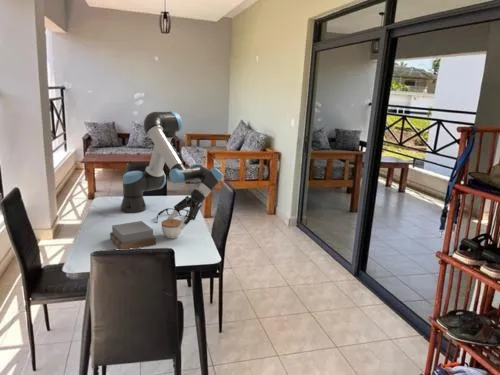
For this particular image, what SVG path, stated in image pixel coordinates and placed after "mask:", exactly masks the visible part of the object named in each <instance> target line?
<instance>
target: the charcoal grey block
mask: <svg viewBox="0 0 500 375" xmlns="http://www.w3.org/2000/svg"><path fill="white" fill-rule="evenodd" d="M111 229H112V230H111V232H112V233H113V234H114V235H115V236H116V237H117V238H118V239H119V240H120V241H121V242H122V243H127V242H132V241H137V240H143V239H148V238H153V236H154V229H153V228H152V227H150V226H149V225H148V224H146V223H145V222H144V221H142V220H138V221H133V222H124V223H121V224H120V223H119V224H114V225H111Z"/></svg>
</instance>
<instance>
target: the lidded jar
mask: <svg viewBox="0 0 500 375" xmlns="http://www.w3.org/2000/svg"><path fill="white" fill-rule="evenodd" d="M182 221H183V220H182V219H181V220H180V219H176V218H174V219H167V218H166V219H164V220H162V221H161V232H162V233H163V235H164V236H165V237H166V239H176V238H177V239H178V237H179V236H180V235H181V233H182V231H183V230H181V229H180V228H179V227H178V226H179V225H180V224H181V223H182Z"/></svg>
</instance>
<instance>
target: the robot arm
mask: <svg viewBox="0 0 500 375" xmlns="http://www.w3.org/2000/svg"><path fill="white" fill-rule="evenodd" d="M142 126H143V131H144V133H145V135H146V136H147V138H148V139H151V140H150V141H152V143H153V146H154V147H153V150H152V153H151V157H150V161H149V163H148V164H149V165H148V166H146V167H145V170H144V172H143V171H141V170H132V171H127V172H126V173H124V174H123V176H122V192H123V195H122V196H123V197H122V200H121V204H120V211H121V212H124V213H130V214H131V213H132V214H134V213H142V212H144V211H146V210H147V204H146V201H145V199H144V193H145V192H149V191H156V190H160V189H162V188H164V186H165V185H166V182H167V179H166V177H167V176H166V174H165V171H164V166H165V164H166V165H167V167H168V169H169V173H168V174H169V175H168V176H169V181H171V183H173V184H183V183H186V182H192V181H200V182H199V183H198V185H196V187H195V188H194V189H193V190H192V191H191V193H190V197H189V196H188V195H187V196H185V198H183V199H182V200H180V201H179V202H178V203H177V204H175V205H174V206H173V210H172V212H171V213H170V215H168V217H167V218H166V220H167V219H176V217H177V215H179V212H181V211H183V210H182V209H184V210H185V209H186V208H189V212H188V215H187V217H186V218H185V217H184V218H185V219H184V218H183V220H181V221H182V223H181V224H180V225H179V226H178V227H179V228H180V229H181V230H182V231H183V230H184V229H185V227H187V225H188V224H189V223H190V222H191V221H195V220H196V217H197V216H198V213H199V211H200V210H201V207H202V205H203V204H202V203H203V202H204V201H205V199H206V197H208V196H209V195H210V193H211V192H212V191H213V190H214V189H215V187H216V186H217V185H218V184H220V183H221V181H222V179H223V177H224V174H223V173H222V171H221V170H219V169H218V168H216V167H212V168H211V169H208V167H207V168H206V166H203V165H202V164H199V163H193V164H191V165H190V166H188V167H186V166H185V165H184V164H183V161H181V159H180V157H179V155H178V154H177V152H176V150H175V149H174V148H173V146H172V144H171V141H172V139H173V138H175V136H176V133H178V132H180V131H181V130H182V129H183V128H182V127H183V121H182V117H181V116H180V114H179V113H177V112H176V111H170V110H169V111H152V112H150V113H148V114H147V115H146V116H145V118H144V120H143V125H142ZM174 209H175V210H174Z"/></svg>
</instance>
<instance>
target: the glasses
mask: <svg viewBox="0 0 500 375" xmlns="http://www.w3.org/2000/svg"><path fill="white" fill-rule="evenodd" d="M169 210H172V208H169V207H168V208H164V209H163V210H161V211H159V212H158V213H157V215H156V224H158V222H159V221H158V219H159V216H160V215H161V214H163V213H164V212H165V211H166V213H167V215H168V216H170V215H171V213H170V214H169ZM174 210H175V208H173V211H174ZM189 210H190V209H189ZM189 210H188V209H185V208H184V209H182V210H181V211H185V212H186V214H185V215H184V218H183V220H184V219H185V218H186V217H187V216H188V214H189ZM181 211H179V213H178V215H179V216H181V217H183V215H182V214H181V213H180V212H181ZM187 218H188V217H187Z"/></svg>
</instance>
